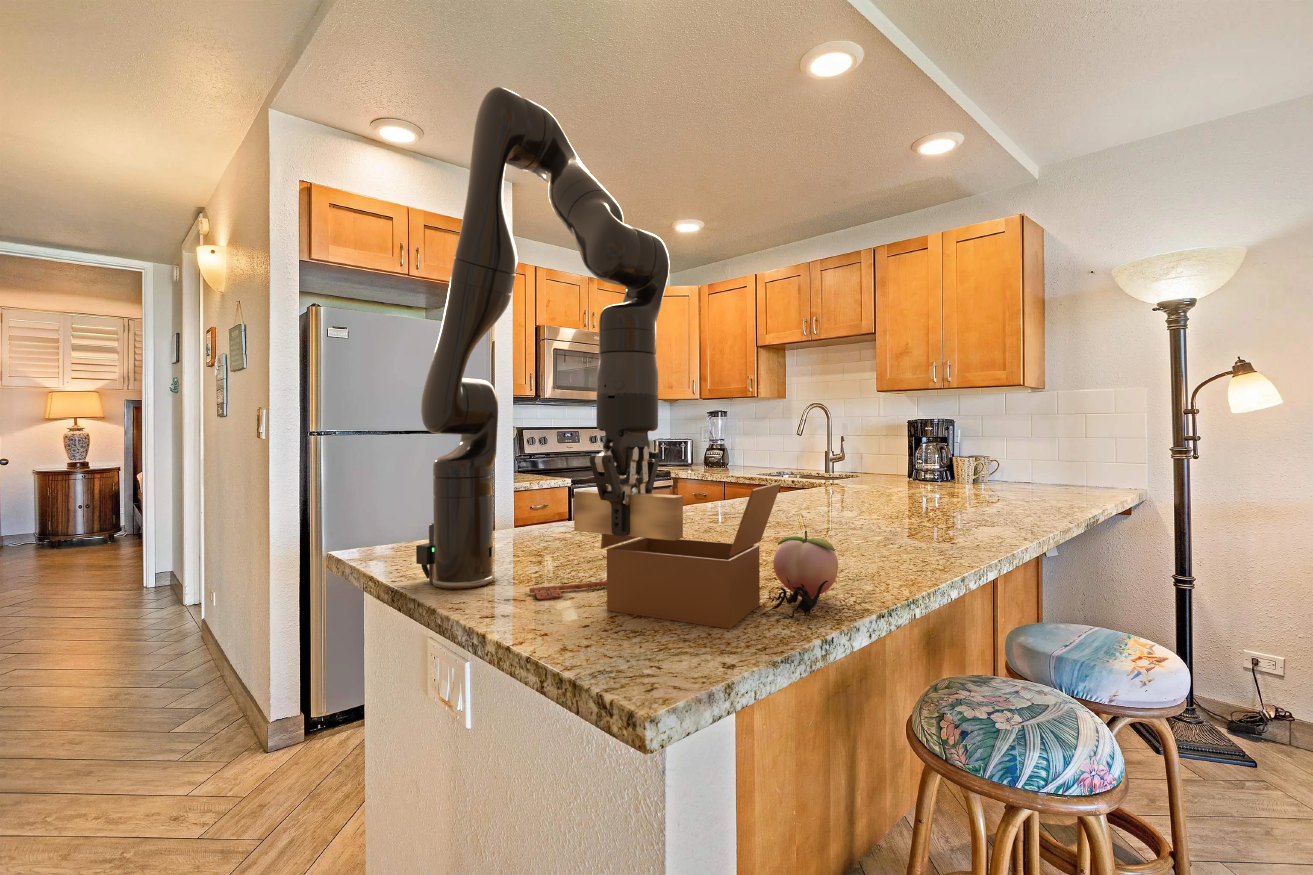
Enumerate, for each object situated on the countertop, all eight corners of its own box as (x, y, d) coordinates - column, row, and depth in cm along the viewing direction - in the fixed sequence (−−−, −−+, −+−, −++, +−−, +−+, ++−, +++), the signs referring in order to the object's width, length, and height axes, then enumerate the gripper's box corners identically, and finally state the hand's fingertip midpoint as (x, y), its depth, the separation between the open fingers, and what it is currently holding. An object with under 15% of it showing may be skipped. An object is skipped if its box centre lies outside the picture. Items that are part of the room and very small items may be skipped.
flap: (758, 540, 86) (760, 541, 86) (728, 555, 76) (731, 556, 76) (779, 482, 85) (781, 483, 85) (751, 489, 75) (754, 490, 74)
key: (533, 602, 89) (632, 592, 94) (533, 596, 89) (632, 586, 94) (527, 589, 95) (621, 580, 100) (527, 583, 95) (621, 574, 100)
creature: (753, 620, 83) (794, 621, 77) (747, 579, 84) (787, 577, 77) (795, 611, 87) (838, 611, 81) (789, 572, 88) (831, 570, 82)
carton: (759, 605, 86) (759, 483, 86) (729, 628, 76) (729, 489, 76) (642, 590, 95) (641, 479, 95) (600, 609, 85) (600, 484, 84)
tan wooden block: (574, 531, 78) (574, 491, 78) (584, 528, 80) (584, 489, 80) (674, 540, 71) (674, 497, 71) (682, 537, 73) (683, 495, 73)
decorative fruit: (848, 598, 90) (848, 529, 90) (828, 611, 83) (828, 537, 83) (788, 588, 96) (787, 524, 96) (764, 600, 89) (764, 531, 89)
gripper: (629, 395, 83) (628, 524, 83) (568, 389, 71) (568, 540, 71) (679, 394, 80) (679, 528, 80) (625, 387, 67) (624, 545, 68)
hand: (626, 533), depth 76 cm, fingers closed on tan wooden block, 2 cm apart
